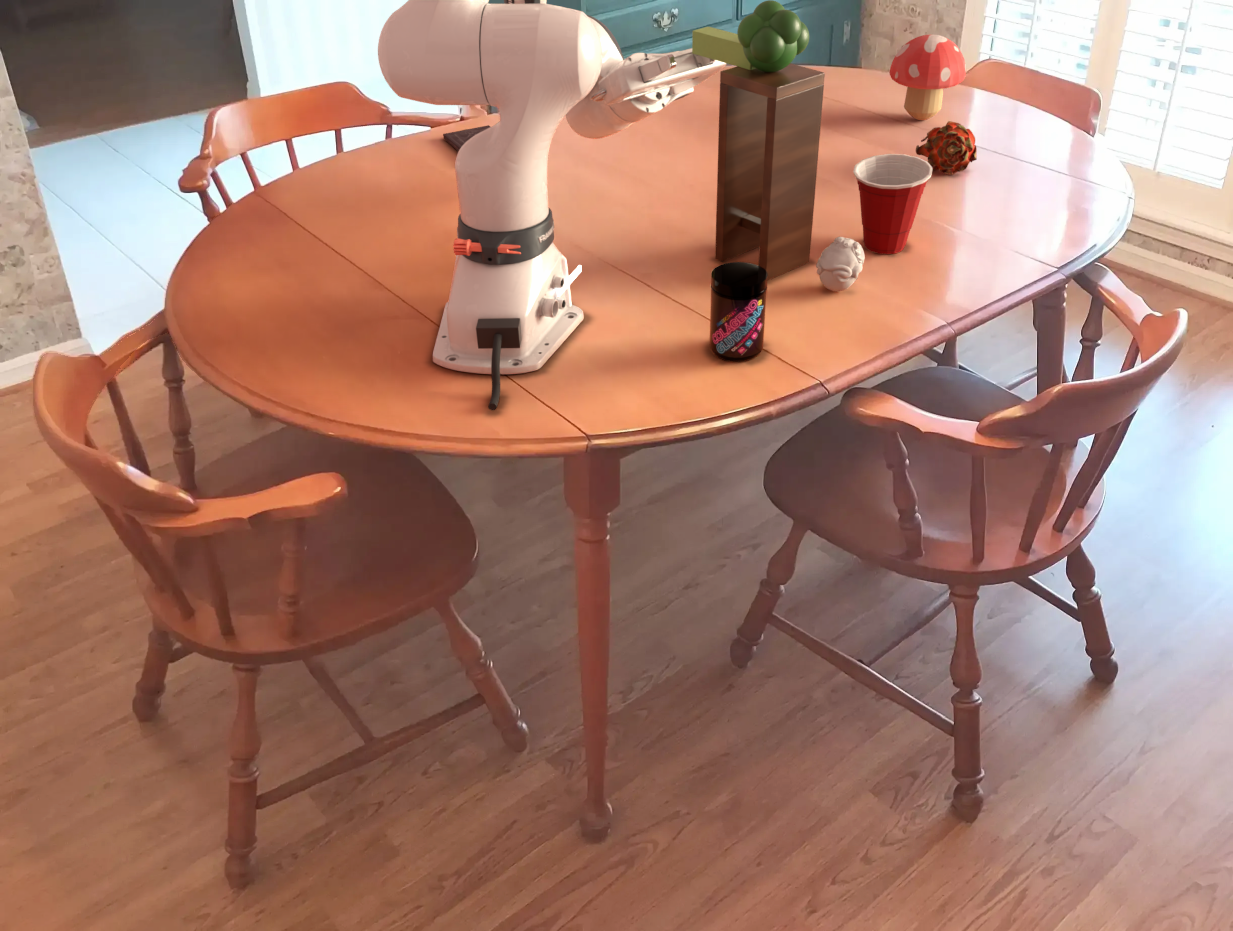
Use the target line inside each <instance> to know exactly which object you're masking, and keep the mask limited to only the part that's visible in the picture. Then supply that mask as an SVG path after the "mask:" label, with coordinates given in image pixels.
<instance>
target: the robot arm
mask: <svg viewBox="0 0 1233 931" xmlns="http://www.w3.org/2000/svg"><path fill="white" fill-rule="evenodd" d="M377 59H378V65H379V68H380V71H381V73H382V76H383V78H384V81H385V82H386V83H387V85H388V87H390V89H391V90H392V92H393V93H395V95H397V96H398V97H399V98H401V99H406V100H411V101H415V102H419V103H424V104H429V105H434V106H491V107H495V108H497V109H498V111H499V112H498V113H499V121H498V122H497V123H494V125H492V126H490V128H488V129H486V130H484V131H482V132H480V133H478V134H476V135H475V136H473V137H472V138H470V139H469V140H468V141H467V142H466V143H464V144H463V146H462V147H461V148H460V150H459V152H458V151H457V154H456V157H455V161H454V170H455V171H454V172H455V181H456V188H457V197H458V206H459V215H458V217H457V228H456V238H455V239H454V240H453V244H452V245H453V246H452V247H453V249H452V250H453V254H454V255H455V260H454V265H453V266H454V267H453V272H452V278H451V284H450V289H449V294H448V301H447V302H446V303H445V305H444V309H443V312H442V317H441V320H440V324H439V328H438V331H437V336H436V339H435V344H434V346H433V347H434V348H433V351H432V362H433V363H434V364H436V365H438V366H440V367H443V368H445V369H449V370H452V371H458V372H462V373H470V374H482V375H491V395H490V399H489V404H488V407H487V408H488V410H490V411H497V408H498V404H499V401H500V396H501V375H516V374H517V375H518V374H525V373H531V372H535V371H538V370H540V369H542V367H543V366H544V365H545V364H546V362H547V361H549V359H550V358H551V357H552V356H553V355H554V353H555V352H557V350H558V349H559V348H560V347H561V346H562V345H563V343H564V342H565V341H566V340H567V339H568V338H569V336H570V335H571V334H572V333H573V332H574V331H575V330H576V329H577V327H578V326H580V324H581V323H582V322H583V321H584V320H585V315H584V311H583V309H582V308H580V307H579V306H577V305H575V304H573V303H572V293H571V284H572V283H573V282H574V281H575V279H577V277H578V276H579V275H580V274H581V273H582V265H581V264H578V265H577V267H576V268H575V269H574V270H573V271H572V272H571V273H570V274H569V268H568V260H567V257H565V255H563V253H562V252H561V251H560V250H559V249H558V247H557V246H556V245H555V242H554V240H555V220H554V217H553V211H552V209H551V208H550V207H549V192H548V164H549V154H550V148H551V144H552V141H553V138H554V135H555V133H556V131H557V129H558V127H559V125H560V124H561V122H562V121H563V119H564V118H565V119H566V121H567V124H568V126H569V128H570V129H571V130H572V131H573V132H574V133H575V134H577V135H579V136H580V137H583V138H585V139H590V140H599V139H604V138H607V137H610V136H613V135H616V134H618V133H620V132H622V131H624V130H626V129H628V128H629V127H631V125H632V124H635V123H639V122H641V121H643V120H645V119H647V118H649V117H651V116H652V115H654V114H656V113H658V112H660V111H662V110H663V109H664V108H666V107H667V106H669V105H670V104H671V103H673V102H675V101H677V100H679V99H683V98H685V97H687V96H688V95H690V94H692V93H694V91H695V89H694V88H695V87H697V86H698V85H700V84H702V83H704V82H705V81H707V80H709V79H710V78H712V77H713V76H714V75H716V74H717V73H719V72H721V71H723V69H724V68H726V66H727V63H724V62H720V61H717V60H713V59H710V58H706V57H703V56H699V55H696V54H692V47H690V48H687V49H683V50H676V51H670V52H661V53H651V52H650V53H647V52H636V53H632V54H630V55H629V56H627V57H625V56H624V55H623V52H622V49H621V47H620V45H619V43H618V41H617V39H616V37H615V35H614V34H613V33H612V31H611V30H610V29H609V28H608V27H607V26H606V25H605V23H603V22H602V21H601V20H599V19H598V18H596V17H594V16H592V15H589V14H586V13H585V12H584V11H582V10H578V9H574V8H569V7H564V6H559V5H554V4H549V3H547V0H503V3H490V0H407V1H406V2H404V4H402V5H401V6H400V7H399V8H397V9H396V10H395V11H394V12H392V13H391V14H390V16H388V18H387V20H386V21H385V22H384V24H383V26H382V28H381V31H380V35H379V38H378V43H377Z"/></svg>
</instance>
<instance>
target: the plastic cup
mask: <svg viewBox="0 0 1233 931" xmlns="http://www.w3.org/2000/svg"><path fill="white" fill-rule="evenodd" d="M927 161H928V160H925V159H923V158H921V157H919V156H915V155H909V154H904V153H884V154H877V155H873V156H872V155H871V156H870V157H866V158H863V159H861V160H860V161H858V162H857V163H856V164H855V165H854V167H853V171H852V173H853V175H854V177H855V178H856V183H857V185H858V191H859V204H860V215H861V216H860V217H861V225H862V238H863V243H864V245H863V246H864V247H865V249H866V250H868V251H870V252H871V253H875V254H880V255H895V254H897V253H900V252H902V251H903V250H905V247H906V245H907V243H908V239H909V235H910V231H911V229H912V227H913V226H914V225H913V224H914V221H915V219H916V215H917V212H918V209H919V205H920V202H921V198H922V195H923V194H924V190H925V188H926V187H927V186H926V185H927V183H928V181H929V179H930V178H931V177H932V175H933V170H932V169H933V168H932V166H931V165H930V164H929V163H928V162H927Z"/></svg>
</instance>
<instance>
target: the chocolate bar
mask: <svg viewBox="0 0 1233 931" xmlns="http://www.w3.org/2000/svg"><path fill="white" fill-rule="evenodd" d="M490 127H491V126H490V125H489V124H488V125H483V126H477V127H473V128H467V129H461V130H457V131H450V132H446V133H443V140H444V141H445V142H446V143H448V144H449V145H450V146H451V147H452V148H453V149H455V150H456V151H457V153H458V152H459V150H460V148H461V147H462V146H463V144H464V143H466V142H467V141H468V140H469V139H470V138H472V137H473V136H475V135H476V134H478V133H480V132H482V131H484V130H486V129H488V128H490Z"/></svg>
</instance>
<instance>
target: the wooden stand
mask: <svg viewBox="0 0 1233 931" xmlns="http://www.w3.org/2000/svg"><path fill="white" fill-rule="evenodd" d="M719 72H720V73H719V74H720V75H719V102H718V103H719V106H718V139H717V140H718V142H717V143H718V144H717V178H716V179H717V182H716V212H715V213H716V214H715V251H714V259H715V260H717V261H719V262H721V263H723V262H726V261H729V260H731V259H733V258H735V257H738V256H741V255H743V254H745V253H749V252H750V251H752V250H754V249H755V250H756V249H758V248H759V251H758V266H761V267H762V268H764V269H765V270H766V271H767V273H768V278H767V282H769V281H770V280H773V279H775V278H777V277H780V276H782V275H784V274H786V273H788V272H791V271H793V270H795V269H797V268H800V267H802V266H804V265H806V264H809V263H810V259H811V258H810V257H811V248H812V233H813V225H814V224H813V223H814V210H815V199H816V187H817V186H816V185H817V177H818V176H817V175H818V162H819V151H820V150H819V148H820V139H821V126H822V114H823V104H824V103H823V102H824V88H825V77H826V72H823V71H820V70H816V69H813V68H809V67H806V66H802V65H799V64H794V63H792V62H791V63H790V64H789V65H788V66H787V67H785V68H783V69H782V70H779V71H776V72H764V71H761V70H758V69H756V68H755V69H752V70H748V69H745V68H741V67H738V66H734V67H730V68H727V69H724V70H723V69H722V70H720V71H719Z"/></svg>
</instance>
